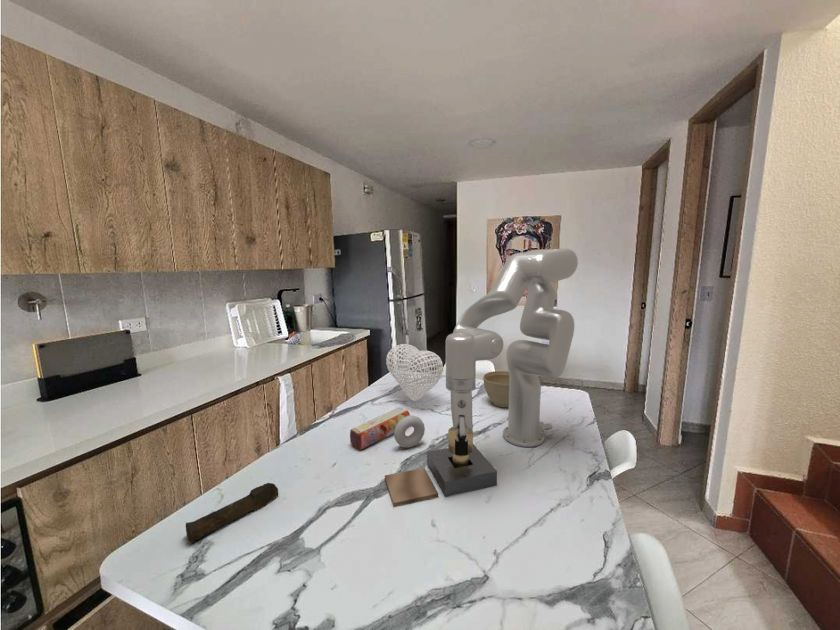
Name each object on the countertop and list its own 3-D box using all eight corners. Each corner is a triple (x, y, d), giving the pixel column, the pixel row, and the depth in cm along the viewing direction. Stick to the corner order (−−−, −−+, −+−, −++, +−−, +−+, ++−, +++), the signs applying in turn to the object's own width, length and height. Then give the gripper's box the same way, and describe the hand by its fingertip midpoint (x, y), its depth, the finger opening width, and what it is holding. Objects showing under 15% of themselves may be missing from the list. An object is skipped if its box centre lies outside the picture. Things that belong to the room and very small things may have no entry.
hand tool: (190, 548, 70) (187, 528, 69) (185, 537, 73) (183, 517, 72) (283, 502, 83) (281, 485, 82) (276, 494, 86) (274, 477, 85)
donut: (397, 453, 103) (396, 421, 101) (392, 447, 106) (391, 417, 104) (426, 445, 107) (426, 414, 106) (422, 440, 110) (421, 410, 109)
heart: (451, 406, 135) (450, 351, 132) (418, 417, 126) (417, 358, 123) (410, 386, 158) (409, 339, 154) (380, 394, 149) (379, 344, 145)
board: (424, 471, 94) (424, 467, 94) (438, 497, 83) (438, 493, 83) (384, 478, 91) (384, 475, 91) (393, 506, 80) (393, 503, 80)
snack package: (361, 453, 104) (360, 432, 102) (348, 445, 108) (347, 425, 107) (411, 428, 119) (411, 409, 118) (398, 422, 123) (397, 404, 122)
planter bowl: (503, 392, 149) (503, 368, 147) (533, 405, 135) (534, 378, 134) (474, 400, 140) (474, 375, 139) (503, 415, 127) (504, 387, 125)
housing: (472, 456, 101) (473, 443, 100) (496, 485, 87) (497, 471, 87) (427, 465, 97) (426, 451, 96) (444, 497, 83) (444, 481, 83)
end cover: (471, 460, 95) (471, 425, 93) (473, 474, 88) (474, 437, 87) (448, 459, 95) (448, 425, 94) (448, 473, 89) (448, 437, 87)
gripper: (479, 394, 79) (478, 466, 82) (472, 371, 96) (471, 431, 99) (446, 394, 80) (446, 466, 83) (445, 371, 97) (445, 431, 100)
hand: (460, 446), depth 91 cm, fingers closed on end cover, 6 cm apart
